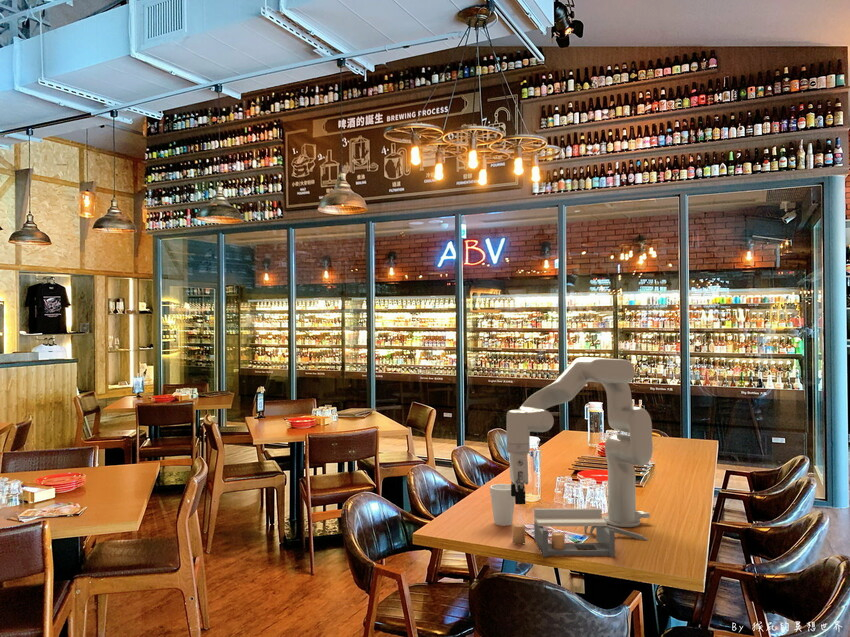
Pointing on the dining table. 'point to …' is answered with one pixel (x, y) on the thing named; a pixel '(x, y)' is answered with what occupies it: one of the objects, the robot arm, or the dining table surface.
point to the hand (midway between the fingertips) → (517, 500)
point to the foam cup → (502, 504)
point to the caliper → (620, 531)
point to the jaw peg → (518, 533)
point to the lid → (569, 517)
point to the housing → (561, 548)
